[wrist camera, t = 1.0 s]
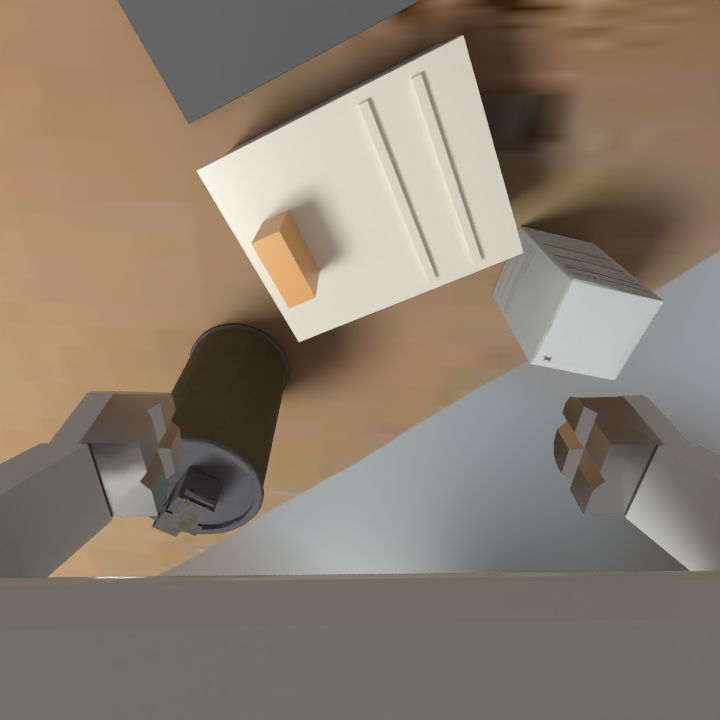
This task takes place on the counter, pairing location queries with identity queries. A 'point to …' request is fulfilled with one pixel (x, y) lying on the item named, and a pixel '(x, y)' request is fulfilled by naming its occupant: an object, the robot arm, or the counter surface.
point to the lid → (371, 195)
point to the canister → (223, 430)
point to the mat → (242, 41)
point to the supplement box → (573, 305)
